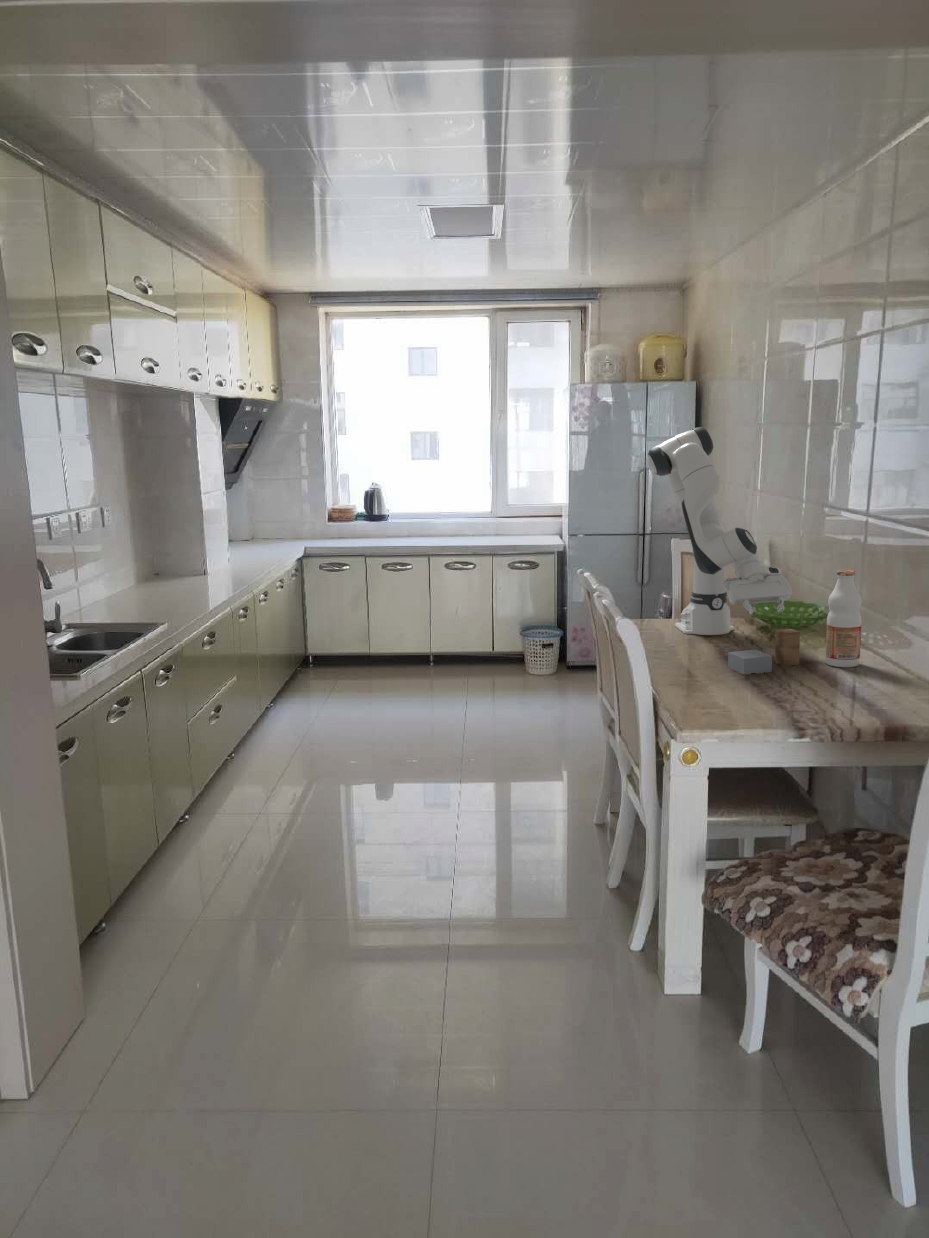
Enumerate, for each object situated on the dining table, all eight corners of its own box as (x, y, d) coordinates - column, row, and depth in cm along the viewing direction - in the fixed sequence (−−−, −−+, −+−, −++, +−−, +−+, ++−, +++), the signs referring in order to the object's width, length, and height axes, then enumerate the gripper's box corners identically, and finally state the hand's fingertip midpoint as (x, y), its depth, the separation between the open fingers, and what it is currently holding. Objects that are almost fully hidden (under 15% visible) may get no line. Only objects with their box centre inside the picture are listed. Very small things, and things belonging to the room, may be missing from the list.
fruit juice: (818, 663, 270) (821, 570, 265) (841, 658, 274) (844, 567, 269) (843, 669, 262) (847, 574, 257) (866, 665, 266) (871, 571, 261)
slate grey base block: (727, 668, 270) (728, 652, 269) (755, 665, 272) (755, 649, 271) (743, 675, 261) (743, 658, 260) (771, 672, 263) (772, 655, 262)
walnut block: (774, 662, 274) (775, 629, 272) (789, 660, 275) (790, 628, 273) (783, 665, 269) (784, 633, 267) (798, 664, 270) (799, 631, 268)
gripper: (725, 573, 283) (740, 609, 275) (785, 568, 286) (801, 603, 279) (718, 585, 288) (733, 620, 280) (777, 580, 291) (793, 615, 284)
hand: (767, 612), depth 279 cm, fingers open, 8 cm apart
